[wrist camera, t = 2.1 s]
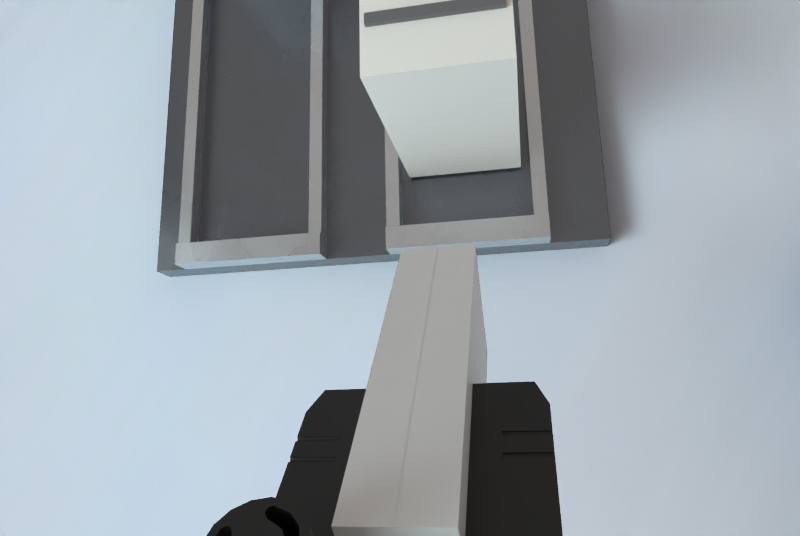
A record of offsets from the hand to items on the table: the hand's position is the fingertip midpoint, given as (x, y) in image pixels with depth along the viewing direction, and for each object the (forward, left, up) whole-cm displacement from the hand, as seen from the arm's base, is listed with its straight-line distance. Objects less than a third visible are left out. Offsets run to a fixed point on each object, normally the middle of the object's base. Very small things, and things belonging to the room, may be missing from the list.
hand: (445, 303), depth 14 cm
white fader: (-6, +8, -14) cm, 18 cm away
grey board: (-14, +12, -15) cm, 24 cm away
